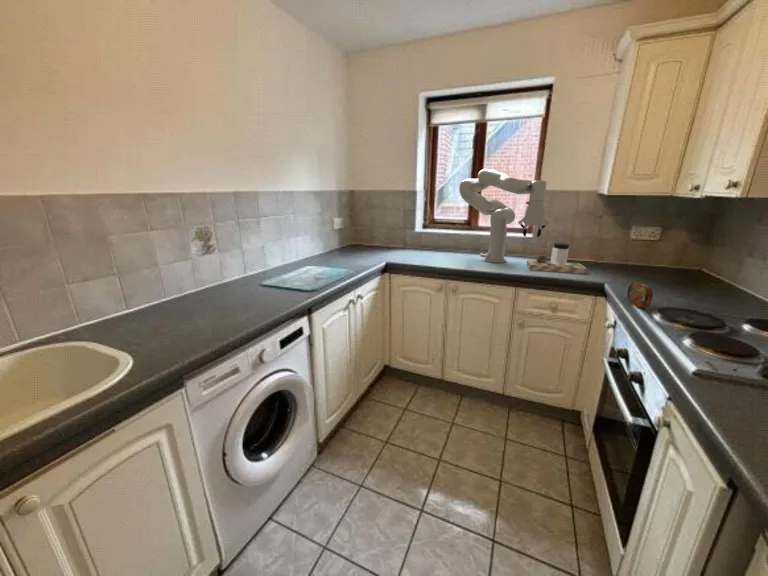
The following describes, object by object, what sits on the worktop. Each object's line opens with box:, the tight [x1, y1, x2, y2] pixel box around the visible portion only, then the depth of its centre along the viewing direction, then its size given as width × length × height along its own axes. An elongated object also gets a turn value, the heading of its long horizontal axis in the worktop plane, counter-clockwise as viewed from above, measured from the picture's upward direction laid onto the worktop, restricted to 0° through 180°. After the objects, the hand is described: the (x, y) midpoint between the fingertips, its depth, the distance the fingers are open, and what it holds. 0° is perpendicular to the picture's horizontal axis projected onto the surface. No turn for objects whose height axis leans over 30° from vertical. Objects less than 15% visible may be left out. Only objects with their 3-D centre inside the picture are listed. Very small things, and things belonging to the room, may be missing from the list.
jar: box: [549, 242, 570, 263], centre depth 199 cm, size 9×8×12 cm
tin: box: [626, 281, 654, 309], centre depth 128 cm, size 15×3×8 cm, turn 163°
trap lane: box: [525, 260, 588, 275], centre depth 185 cm, size 28×13×3 cm, turn 75°
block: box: [536, 254, 547, 263], centre depth 188 cm, size 4×4×4 cm
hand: (531, 236), depth 186 cm, fingers open, 6 cm apart
